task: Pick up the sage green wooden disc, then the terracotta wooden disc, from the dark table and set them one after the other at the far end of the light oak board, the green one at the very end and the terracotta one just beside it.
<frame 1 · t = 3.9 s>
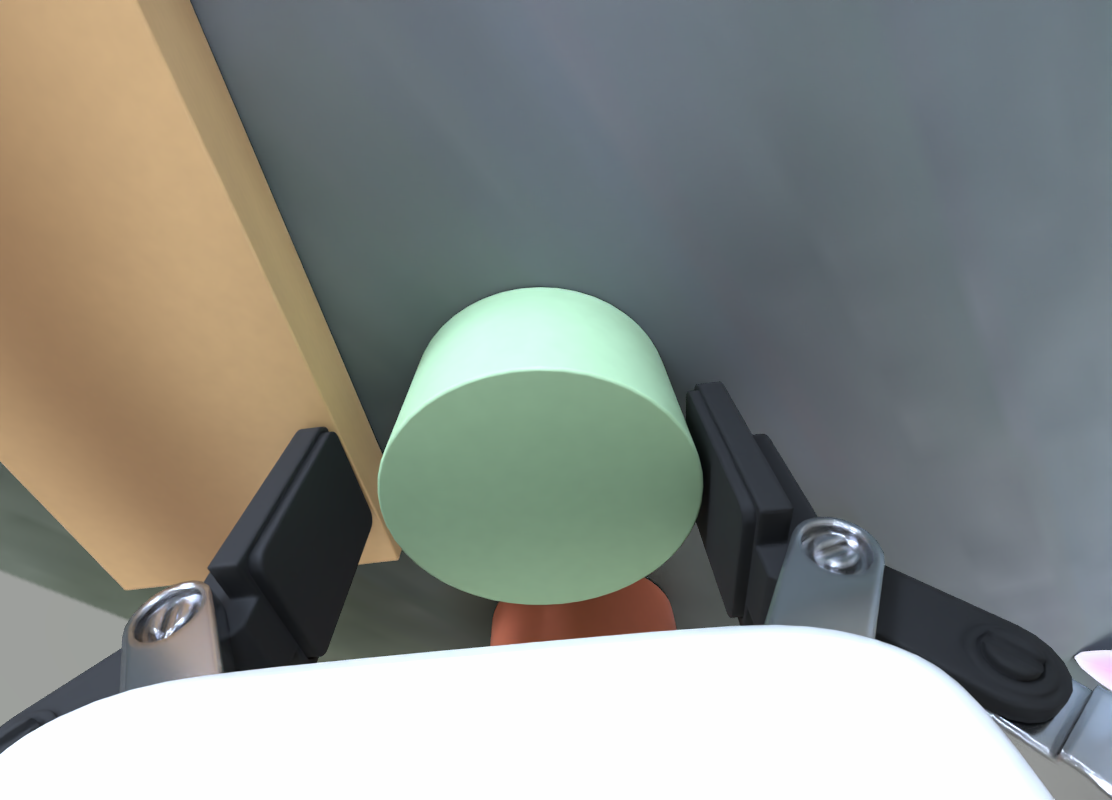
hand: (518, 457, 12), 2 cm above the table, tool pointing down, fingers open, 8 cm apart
board: (62, 189, 10), on the table
sage disc: (541, 405, 13), on the table
terracotta disc: (582, 622, 18), on the table
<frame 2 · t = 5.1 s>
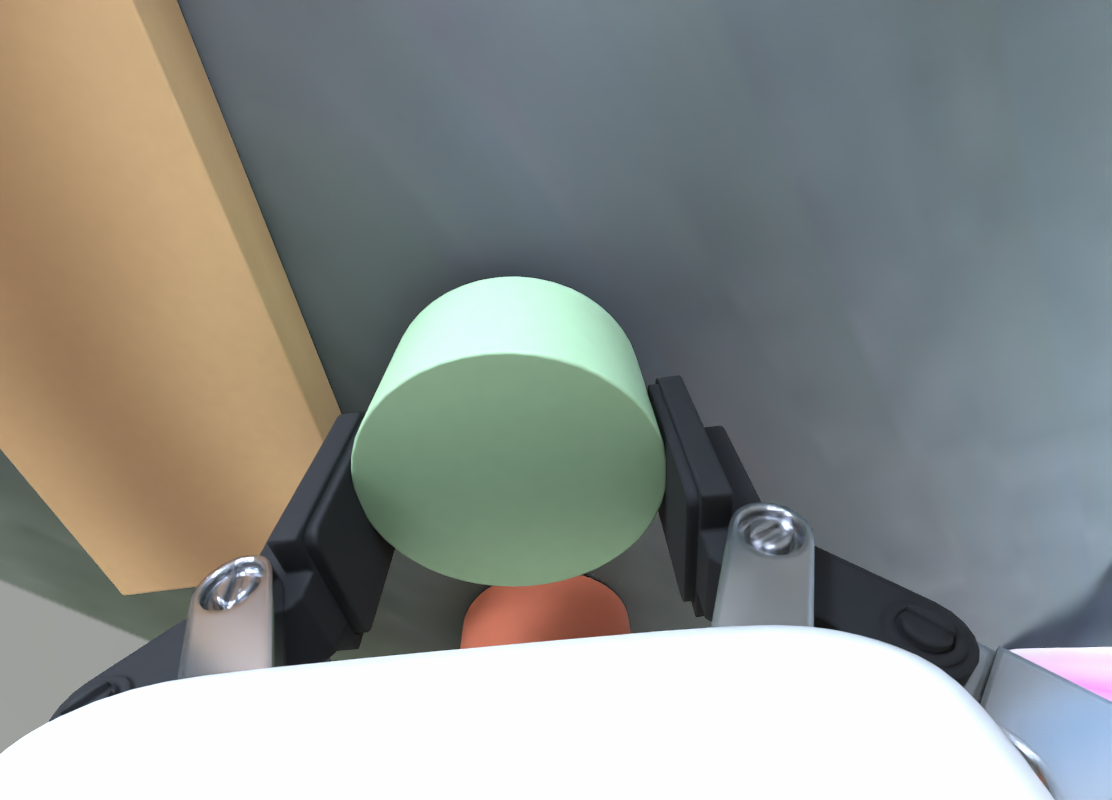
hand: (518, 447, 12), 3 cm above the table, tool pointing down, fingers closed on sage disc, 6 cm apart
board: (97, 242, 12), on the table
sage disc: (517, 393, 14), point 1 cm above the table, touching gripper
terracotta disc: (546, 626, 20), on the table
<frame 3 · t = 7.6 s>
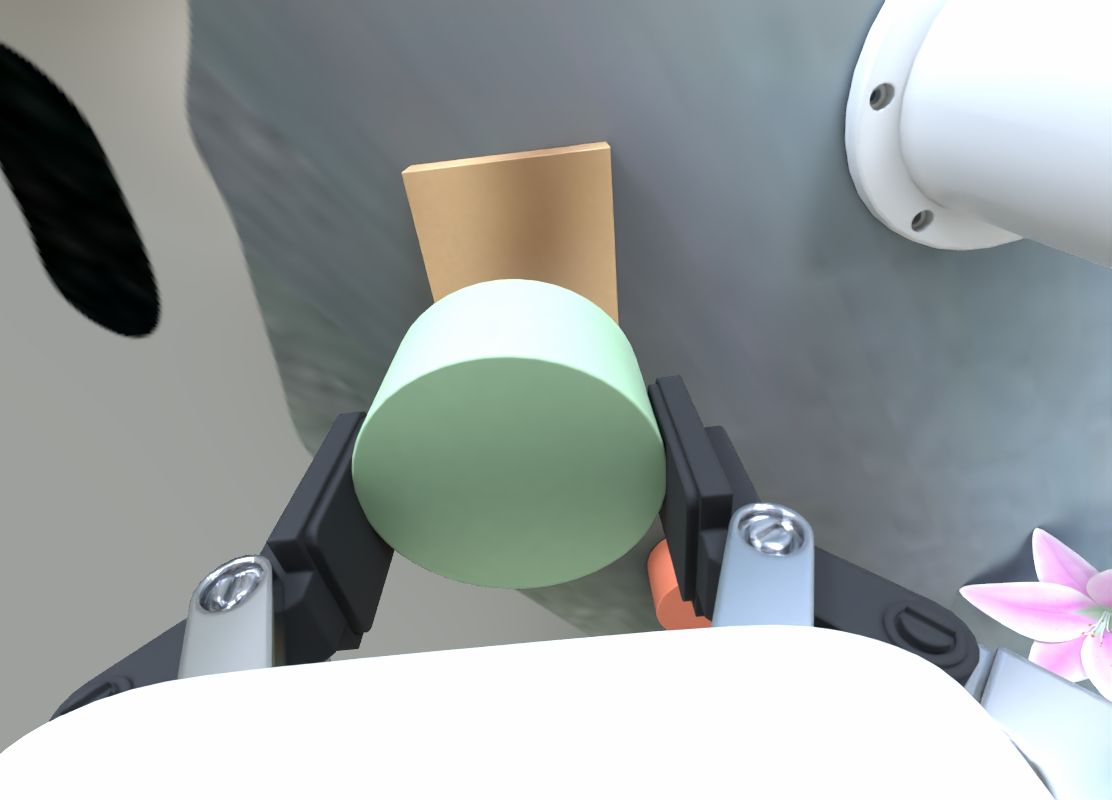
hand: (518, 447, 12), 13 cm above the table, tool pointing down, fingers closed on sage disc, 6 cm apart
board: (538, 368, 26), on the table
sage disc: (517, 395, 14), point 11 cm above the table, touching gripper
terracotta disc: (694, 560, 35), on the table
lily: (1041, 561, 36), on the table
when the fingers open (3 cm above the table, at t = 10.3 s): sage disc stays where it is, resting on board.
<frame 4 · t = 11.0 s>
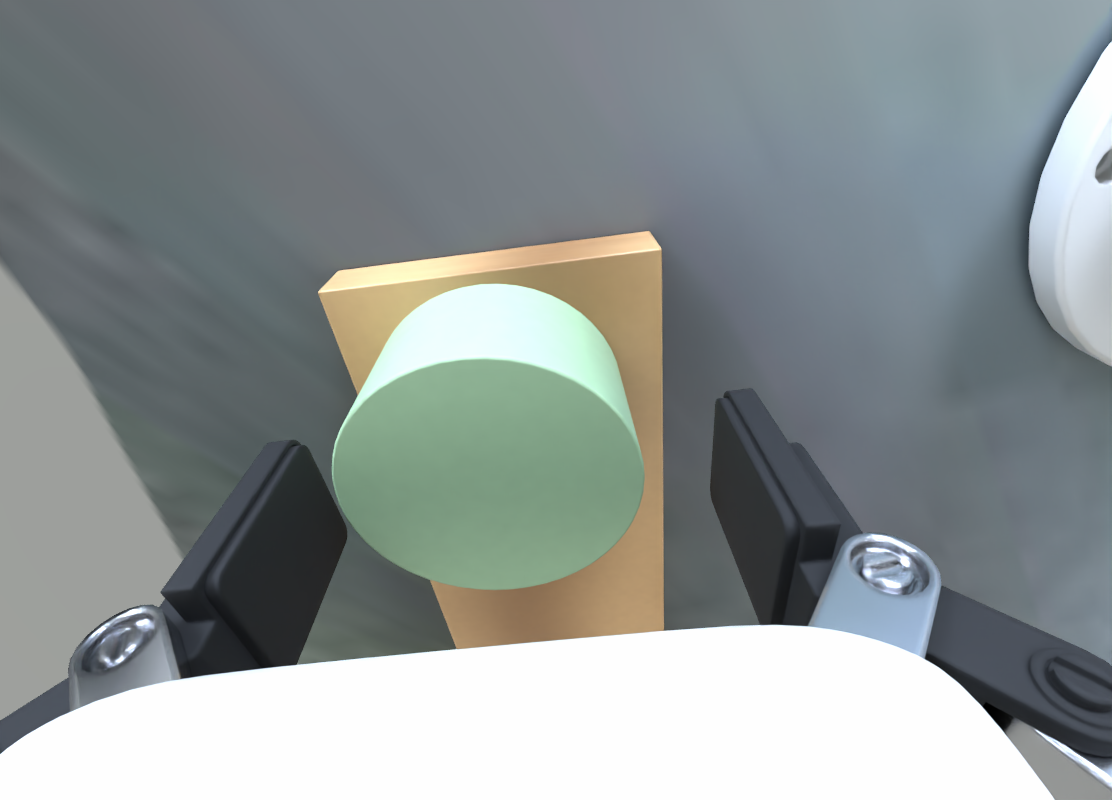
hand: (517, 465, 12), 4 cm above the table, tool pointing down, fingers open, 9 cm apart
board: (543, 526, 19), on the table
sage disc: (500, 398, 14), point 1 cm above the table, touching board
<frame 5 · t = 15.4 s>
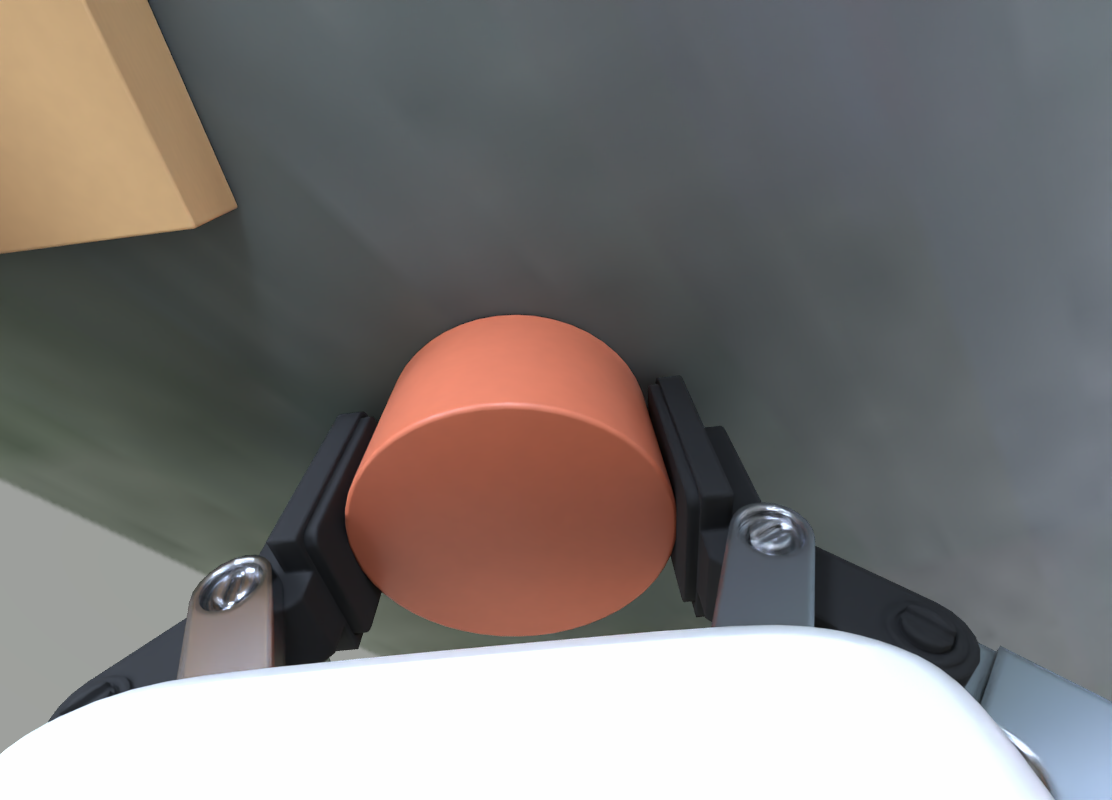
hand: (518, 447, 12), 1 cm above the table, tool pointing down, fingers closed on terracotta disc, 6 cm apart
terracotta disc: (519, 430, 13), on the table, touching gripper
when the fingers open (2 cm above the table, at t = 21.8 s): terracotta disc stays where it is, resting on board.
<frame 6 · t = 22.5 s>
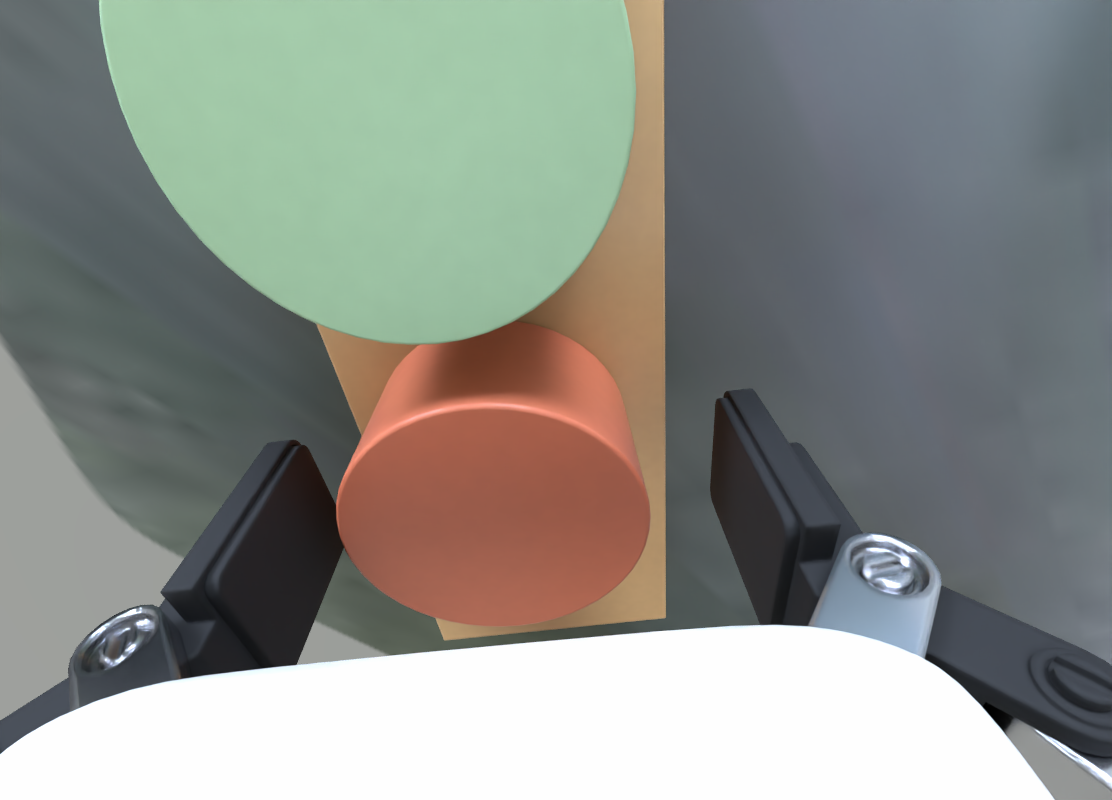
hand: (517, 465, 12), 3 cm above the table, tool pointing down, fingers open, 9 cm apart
board: (509, 366, 14), on the table
sage disc: (431, 101, 10), point 1 cm above the table, touching board
terracotta disc: (504, 431, 14), point 1 cm above the table, touching board
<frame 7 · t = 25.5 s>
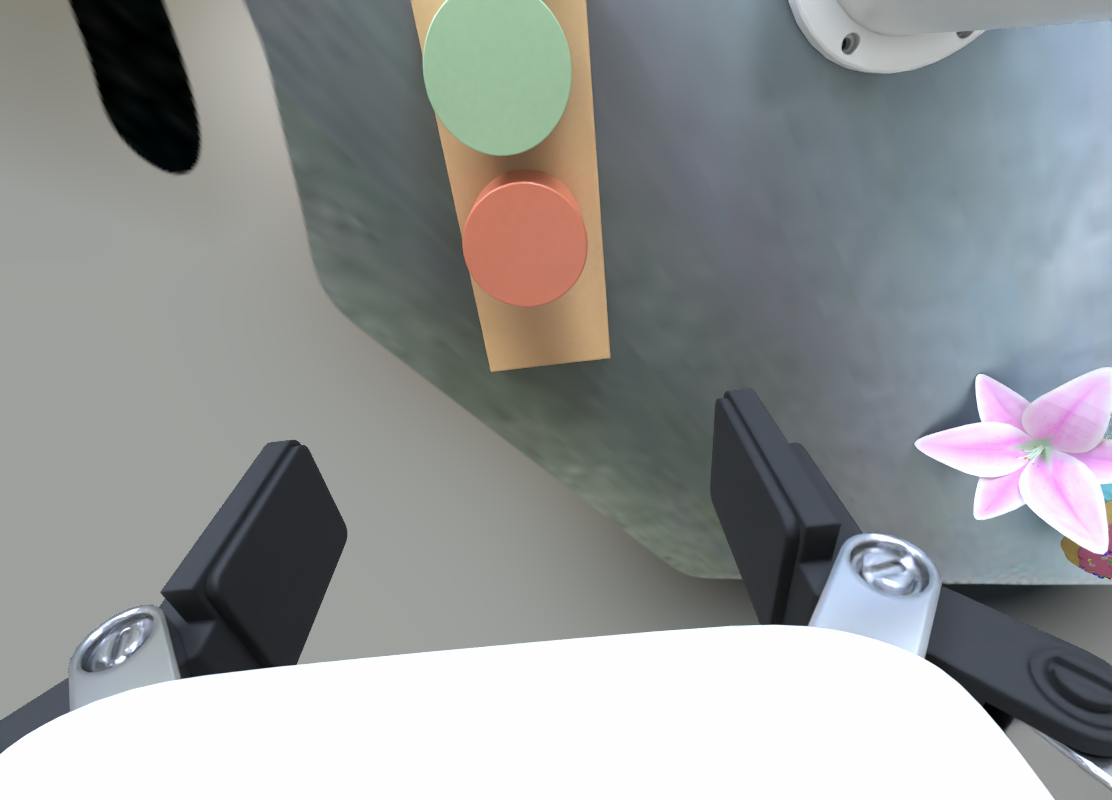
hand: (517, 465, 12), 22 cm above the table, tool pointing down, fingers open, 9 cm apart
board: (528, 203, 30), on the table
cupcake: (1078, 493, 45), on the table
sage disc: (502, 73, 25), point 1 cm above the table, touching board
terracotta disc: (526, 229, 29), point 1 cm above the table, touching board
lily: (986, 412, 40), on the table
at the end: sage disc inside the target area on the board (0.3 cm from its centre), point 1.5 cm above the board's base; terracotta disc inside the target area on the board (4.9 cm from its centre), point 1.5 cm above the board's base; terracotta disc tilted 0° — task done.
